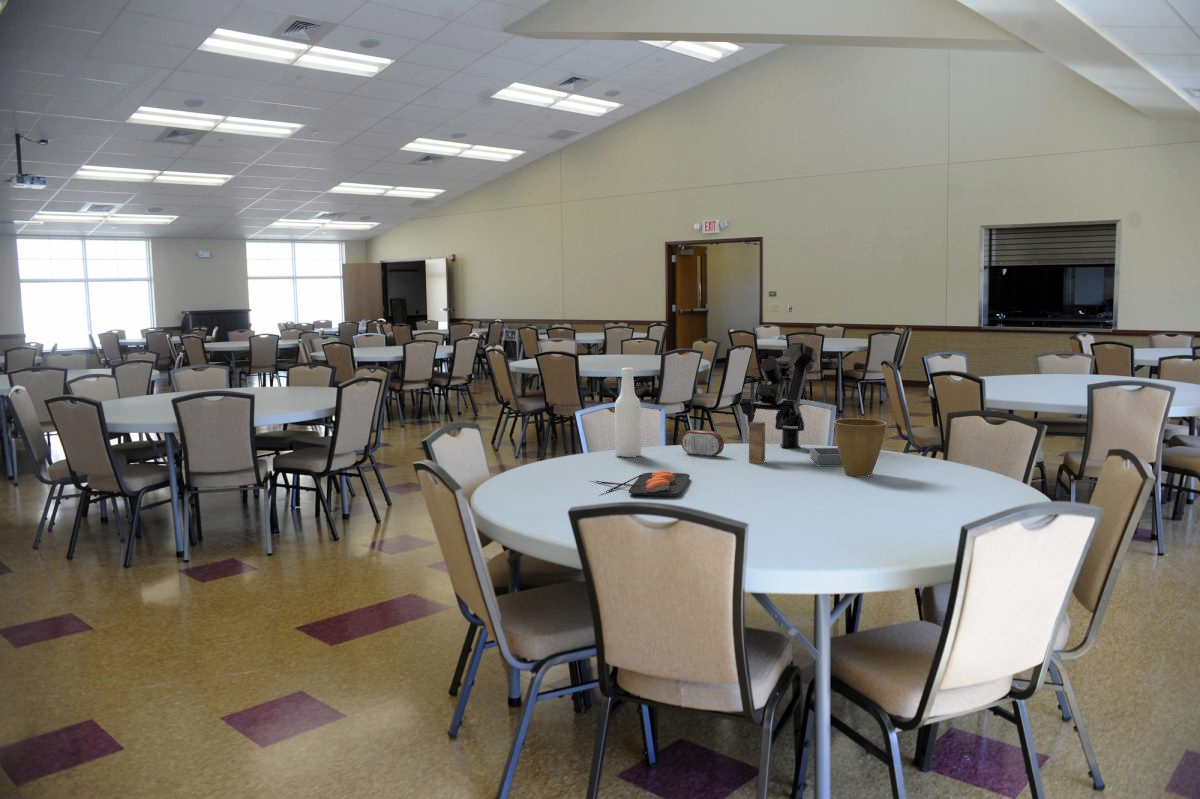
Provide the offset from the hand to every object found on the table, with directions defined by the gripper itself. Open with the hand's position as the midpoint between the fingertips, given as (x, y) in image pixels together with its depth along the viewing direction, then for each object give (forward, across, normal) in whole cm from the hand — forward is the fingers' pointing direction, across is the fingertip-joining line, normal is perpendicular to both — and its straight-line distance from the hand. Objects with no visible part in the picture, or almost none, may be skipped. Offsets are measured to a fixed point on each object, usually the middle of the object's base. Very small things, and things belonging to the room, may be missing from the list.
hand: (762, 427), depth 299 cm
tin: (+8, -22, +8) cm, 24 cm away
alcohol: (+16, -44, 0) cm, 46 cm away
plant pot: (+16, +34, 0) cm, 38 cm away
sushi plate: (+48, -18, -31) cm, 60 cm away
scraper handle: (+11, 0, +4) cm, 12 cm away
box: (+3, +22, +12) cm, 26 cm away
